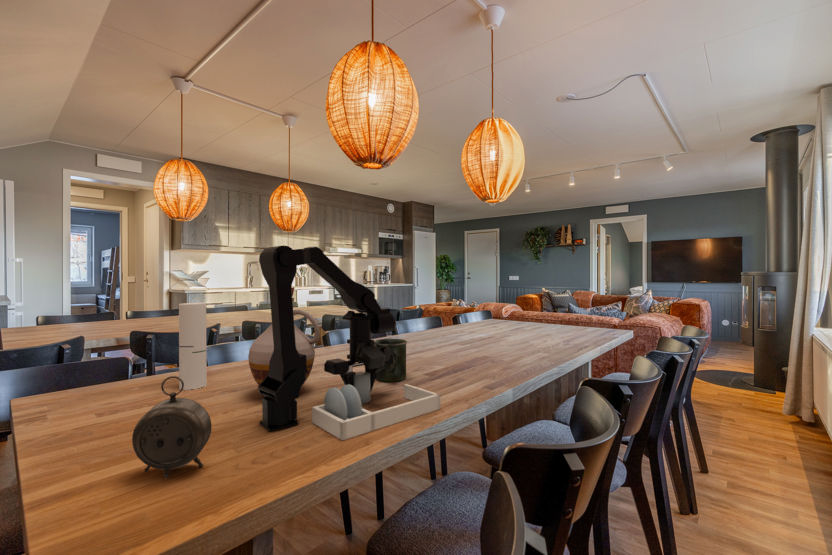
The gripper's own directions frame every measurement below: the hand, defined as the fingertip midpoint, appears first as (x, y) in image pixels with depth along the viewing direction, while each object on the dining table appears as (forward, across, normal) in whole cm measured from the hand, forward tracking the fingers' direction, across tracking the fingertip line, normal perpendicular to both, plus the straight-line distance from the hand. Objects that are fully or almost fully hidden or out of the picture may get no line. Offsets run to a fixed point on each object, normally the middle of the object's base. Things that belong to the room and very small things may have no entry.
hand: (360, 394), depth 104 cm
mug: (+2, +19, +11) cm, 22 cm away
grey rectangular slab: (+2, 0, 0) cm, 2 cm away
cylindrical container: (+2, -30, +45) cm, 54 cm away
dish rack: (+2, -3, -12) cm, 13 cm away
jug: (+2, -12, +20) cm, 23 cm away
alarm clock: (+2, -45, -11) cm, 46 cm away
